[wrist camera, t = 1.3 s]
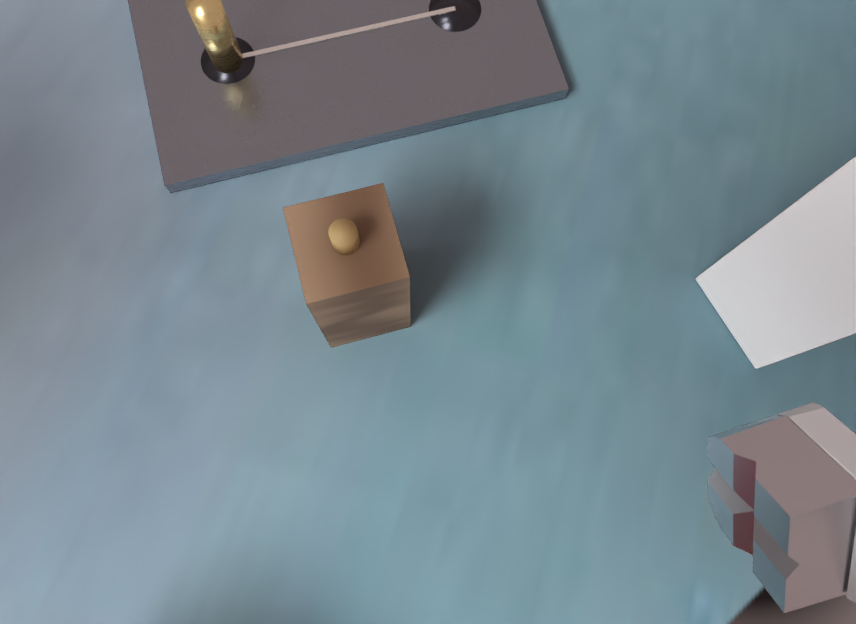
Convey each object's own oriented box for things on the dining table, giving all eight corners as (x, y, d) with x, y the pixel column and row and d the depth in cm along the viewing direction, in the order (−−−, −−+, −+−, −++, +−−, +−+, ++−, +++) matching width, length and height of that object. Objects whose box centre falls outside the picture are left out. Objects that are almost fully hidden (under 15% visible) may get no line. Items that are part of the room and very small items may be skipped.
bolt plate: (170, 192, 40) (129, 141, 34) (130, -8, 43) (86, -86, 37) (565, 98, 42) (589, 34, 36) (498, -86, 45) (510, -172, 39)
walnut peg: (331, 347, 38) (301, 296, 28) (312, 271, 39) (277, 196, 29) (410, 326, 38) (409, 268, 28) (389, 252, 39) (381, 170, 29)
